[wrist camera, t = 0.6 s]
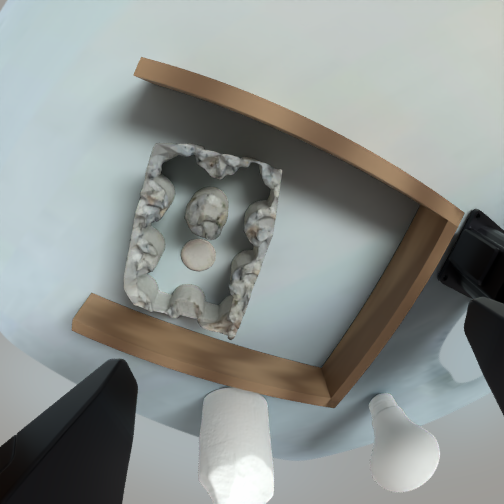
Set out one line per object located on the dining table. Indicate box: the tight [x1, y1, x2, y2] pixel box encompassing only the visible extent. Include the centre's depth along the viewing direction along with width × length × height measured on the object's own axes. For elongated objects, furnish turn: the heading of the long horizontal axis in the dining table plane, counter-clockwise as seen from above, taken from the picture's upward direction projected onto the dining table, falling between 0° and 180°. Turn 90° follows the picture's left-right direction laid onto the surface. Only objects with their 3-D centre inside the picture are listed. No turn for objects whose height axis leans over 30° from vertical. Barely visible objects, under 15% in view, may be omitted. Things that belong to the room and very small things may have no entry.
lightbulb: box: [369, 393, 440, 492], centre depth 22 cm, size 6×6×11 cm
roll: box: [199, 387, 274, 504], centre depth 21 cm, size 6×12×6 cm
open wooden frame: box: [72, 57, 465, 408], centre depth 19 cm, size 20×17×4 cm
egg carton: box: [124, 143, 282, 340], centre depth 18 cm, size 11×8×4 cm
